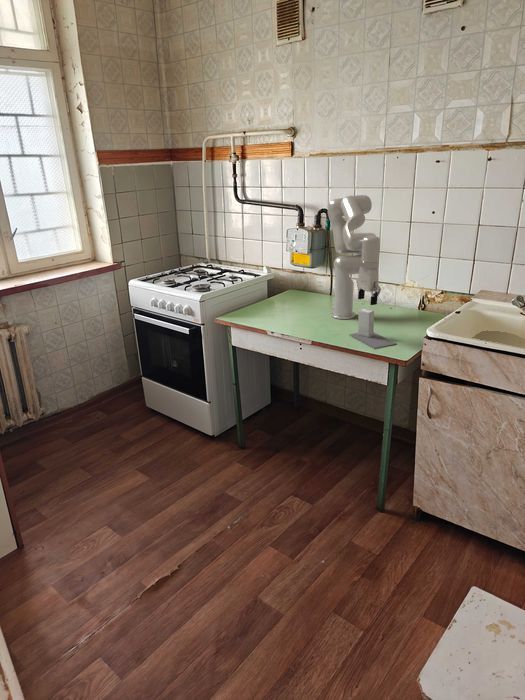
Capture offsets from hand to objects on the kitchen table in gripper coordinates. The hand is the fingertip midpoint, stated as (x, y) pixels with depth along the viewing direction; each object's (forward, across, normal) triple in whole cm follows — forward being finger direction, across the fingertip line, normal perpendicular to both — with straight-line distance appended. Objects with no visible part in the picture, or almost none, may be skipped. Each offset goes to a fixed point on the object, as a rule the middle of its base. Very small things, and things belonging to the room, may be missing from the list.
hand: (367, 301), depth 227 cm
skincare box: (+16, 0, 0) cm, 16 cm away
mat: (+16, +6, 0) cm, 18 cm away
